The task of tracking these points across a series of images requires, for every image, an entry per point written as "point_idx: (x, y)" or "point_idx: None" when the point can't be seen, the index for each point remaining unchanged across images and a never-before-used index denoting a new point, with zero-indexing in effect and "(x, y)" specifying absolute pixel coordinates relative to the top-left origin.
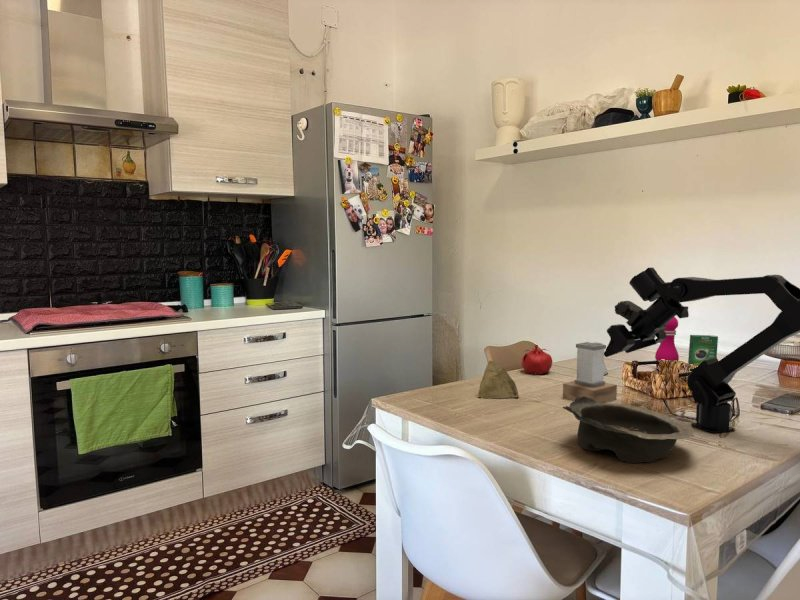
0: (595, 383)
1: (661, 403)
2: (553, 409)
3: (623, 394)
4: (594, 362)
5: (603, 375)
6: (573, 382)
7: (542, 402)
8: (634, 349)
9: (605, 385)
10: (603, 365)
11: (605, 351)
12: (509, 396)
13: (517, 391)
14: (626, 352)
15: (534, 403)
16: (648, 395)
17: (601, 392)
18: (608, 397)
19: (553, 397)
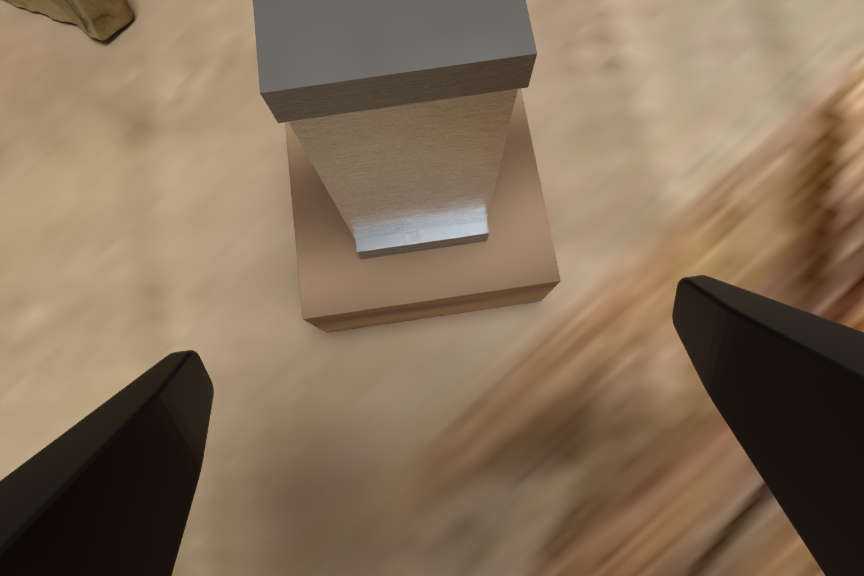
0: (380, 245)
1: (726, 496)
2: (86, 280)
3: (671, 237)
4: (347, 168)
5: (490, 204)
6: None
7: (147, 154)
8: (746, 444)
9: (482, 250)
10: (493, 170)
11: (131, 392)
12: (67, 18)
13: (83, 13)
14: (674, 318)
15: (99, 150)
16: None
17: (385, 311)
18: (463, 307)
19: None
